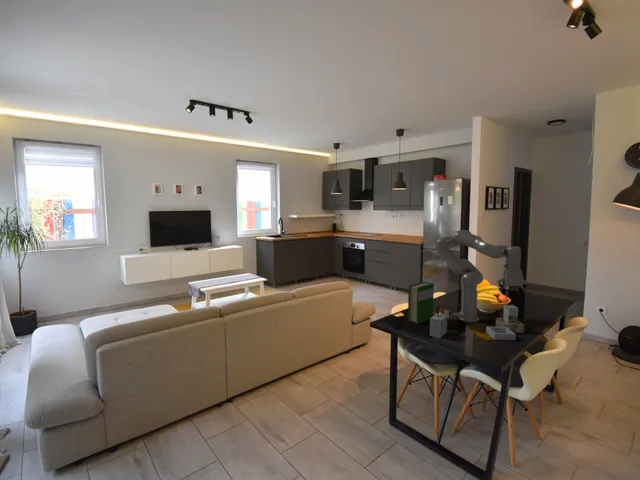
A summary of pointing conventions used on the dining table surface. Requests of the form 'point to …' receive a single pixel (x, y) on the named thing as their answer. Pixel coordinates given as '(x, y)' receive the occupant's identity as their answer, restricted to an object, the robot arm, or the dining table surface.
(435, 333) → the light bulb box
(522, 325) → the brown square tray
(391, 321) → the dining table surface
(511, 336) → the seat block
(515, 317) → the syrup box
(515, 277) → the robot arm
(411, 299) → the hardback book
